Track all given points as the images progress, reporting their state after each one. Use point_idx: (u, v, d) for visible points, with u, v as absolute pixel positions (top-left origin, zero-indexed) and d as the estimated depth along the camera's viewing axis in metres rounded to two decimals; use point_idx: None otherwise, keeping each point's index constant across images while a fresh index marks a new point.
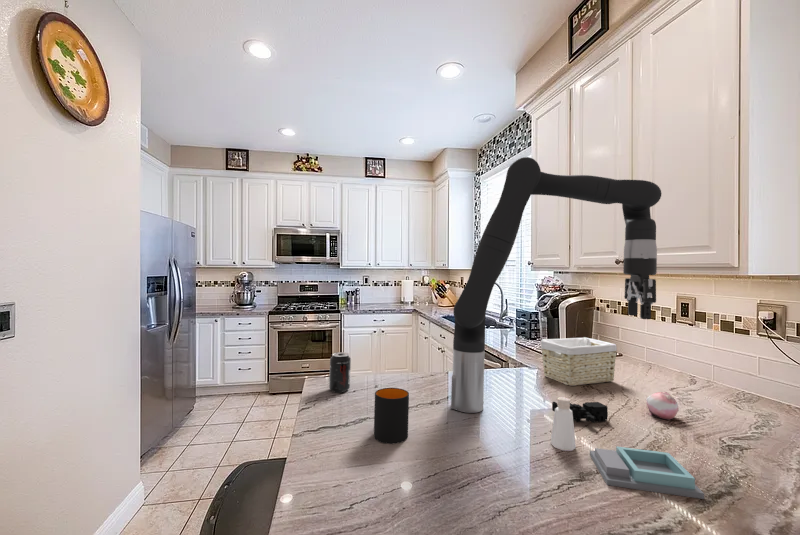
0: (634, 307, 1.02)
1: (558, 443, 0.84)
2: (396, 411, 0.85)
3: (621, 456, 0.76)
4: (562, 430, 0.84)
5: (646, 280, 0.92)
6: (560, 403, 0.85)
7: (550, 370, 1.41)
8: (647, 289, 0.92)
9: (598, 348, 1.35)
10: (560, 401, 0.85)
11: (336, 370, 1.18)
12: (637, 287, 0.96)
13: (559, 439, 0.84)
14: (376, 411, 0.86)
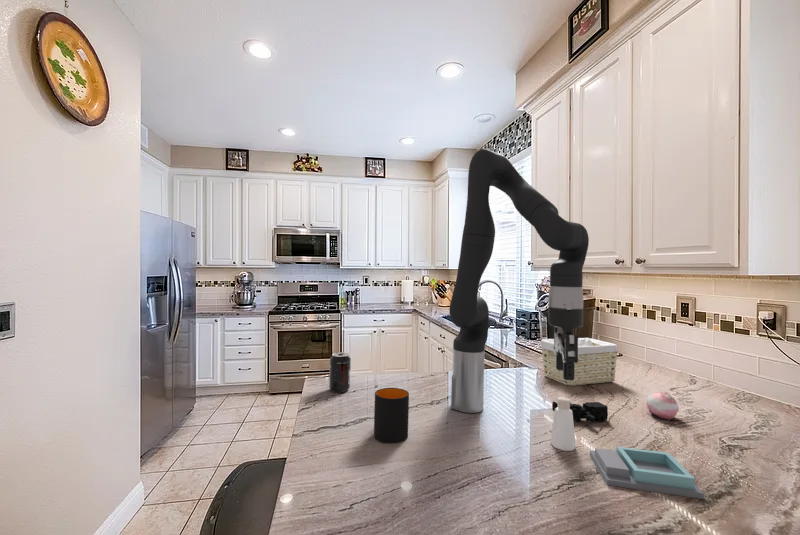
0: (562, 361, 0.90)
1: (558, 443, 0.84)
2: (396, 411, 0.85)
3: (621, 456, 0.76)
4: (562, 430, 0.84)
5: (567, 336, 0.80)
6: (561, 403, 0.85)
7: (550, 370, 1.42)
8: (568, 347, 0.79)
9: (598, 348, 1.35)
10: (560, 401, 0.85)
11: (336, 370, 1.18)
12: (560, 341, 0.84)
13: (559, 439, 0.84)
14: (376, 411, 0.86)
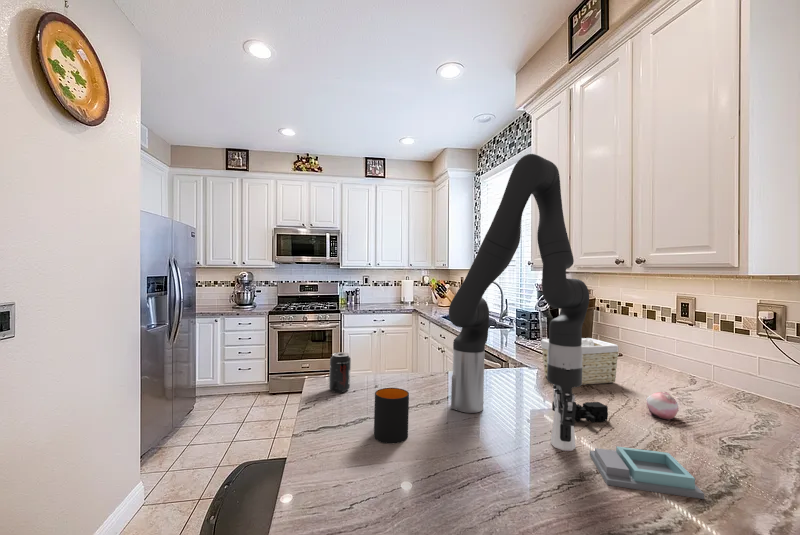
0: None
1: (558, 443, 0.84)
2: (396, 411, 0.85)
3: (621, 456, 0.76)
4: None
5: (565, 404, 0.79)
6: None
7: None
8: (565, 414, 0.80)
9: (597, 348, 1.34)
10: None
11: (336, 370, 1.18)
12: (559, 402, 0.84)
13: (559, 439, 0.84)
14: (376, 411, 0.86)
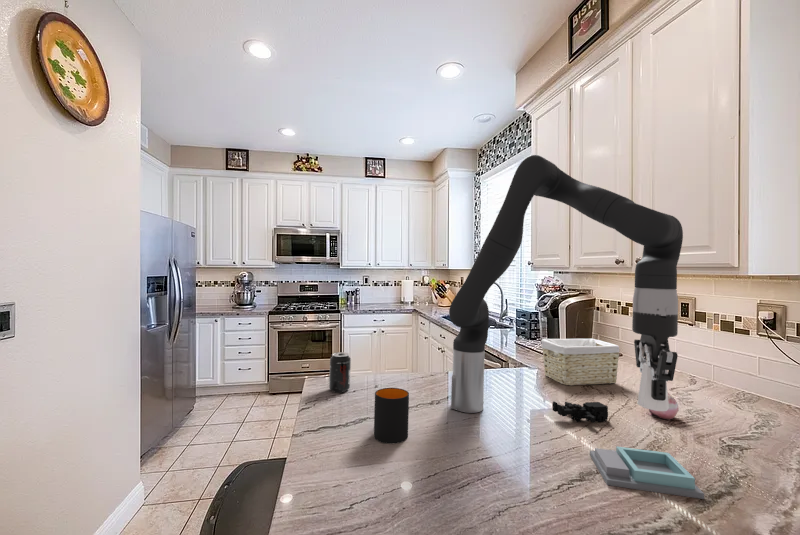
0: None
1: (649, 403, 0.72)
2: (396, 411, 0.85)
3: (621, 456, 0.76)
4: None
5: (664, 354, 0.67)
6: None
7: (549, 369, 1.42)
8: (663, 366, 0.68)
9: (597, 349, 1.34)
10: None
11: (336, 370, 1.18)
12: (650, 355, 0.72)
13: (650, 398, 0.72)
14: (376, 411, 0.86)
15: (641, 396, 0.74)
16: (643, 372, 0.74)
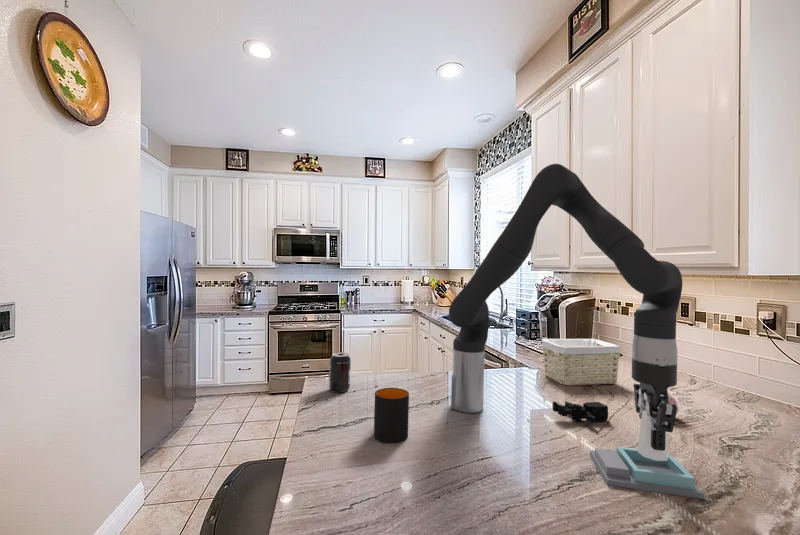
0: None
1: (649, 452, 0.72)
2: (396, 411, 0.85)
3: (621, 456, 0.76)
4: None
5: (664, 407, 0.67)
6: None
7: (549, 369, 1.42)
8: (663, 418, 0.68)
9: (597, 349, 1.33)
10: None
11: (336, 370, 1.18)
12: (650, 404, 0.72)
13: (650, 447, 0.72)
14: (376, 411, 0.86)
15: (641, 444, 0.74)
16: (643, 420, 0.74)
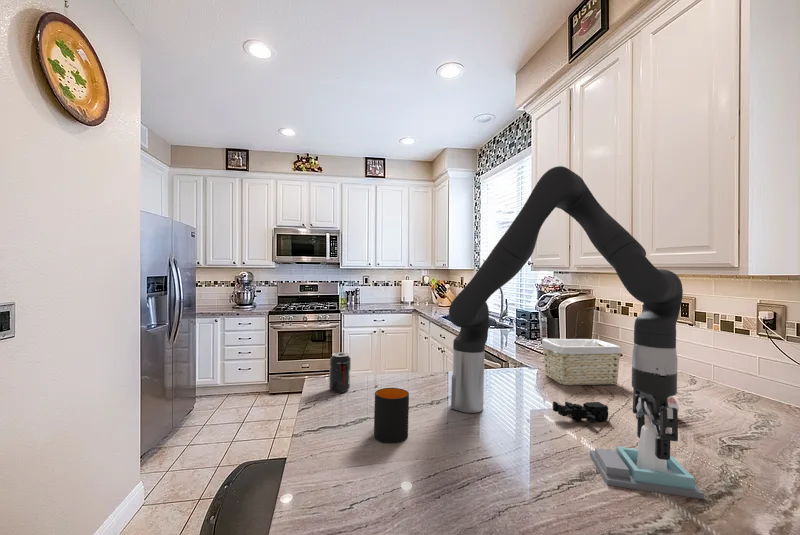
0: None
1: (648, 468, 0.72)
2: (396, 411, 0.85)
3: (621, 456, 0.76)
4: (653, 454, 0.72)
5: (664, 409, 0.67)
6: None
7: (549, 369, 1.43)
8: (665, 423, 0.67)
9: (596, 349, 1.33)
10: None
11: (336, 370, 1.18)
12: (651, 412, 0.71)
13: (649, 463, 0.72)
14: (376, 411, 0.86)
15: (640, 460, 0.74)
16: (642, 436, 0.74)
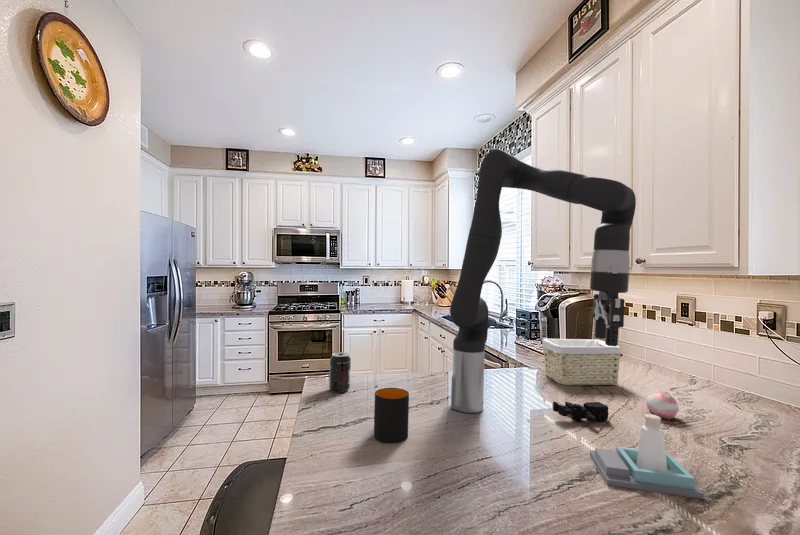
0: (602, 329, 0.87)
1: (648, 468, 0.72)
2: (396, 411, 0.85)
3: (621, 456, 0.76)
4: (653, 454, 0.72)
5: (613, 300, 0.77)
6: (650, 421, 0.73)
7: (549, 369, 1.43)
8: (613, 311, 0.76)
9: (596, 349, 1.33)
10: (649, 419, 0.73)
11: (336, 370, 1.18)
12: (604, 307, 0.81)
13: (649, 463, 0.72)
14: (376, 411, 0.86)
15: (640, 460, 0.74)
16: (642, 436, 0.74)
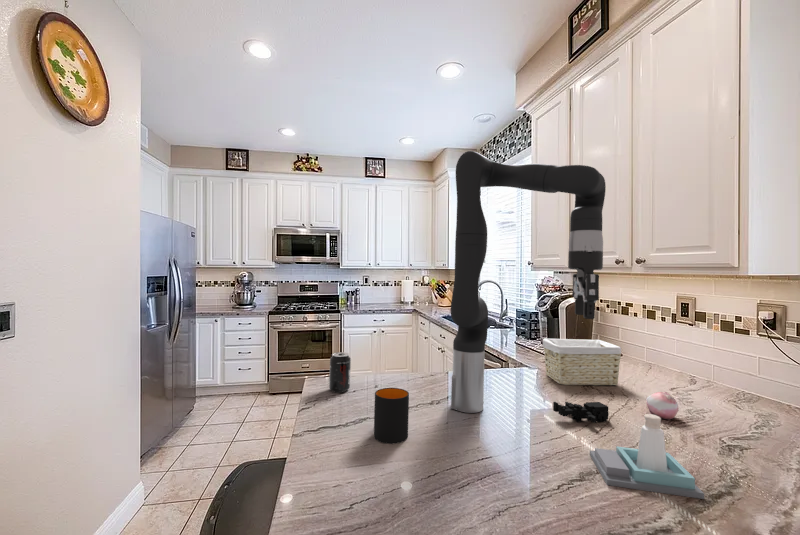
0: (581, 305, 0.92)
1: (648, 468, 0.72)
2: (396, 411, 0.85)
3: (621, 456, 0.76)
4: (653, 454, 0.72)
5: (588, 275, 0.82)
6: (650, 421, 0.73)
7: (549, 369, 1.43)
8: (589, 286, 0.82)
9: (595, 349, 1.32)
10: (649, 419, 0.73)
11: (336, 370, 1.18)
12: (581, 283, 0.87)
13: (649, 463, 0.72)
14: (376, 411, 0.86)
15: (640, 460, 0.74)
16: (642, 436, 0.74)
